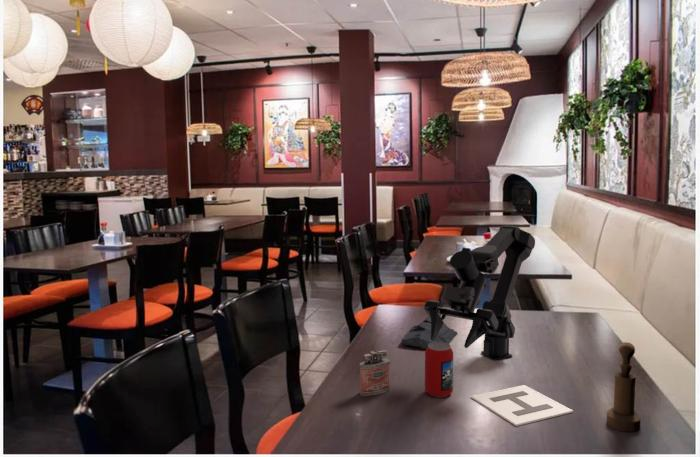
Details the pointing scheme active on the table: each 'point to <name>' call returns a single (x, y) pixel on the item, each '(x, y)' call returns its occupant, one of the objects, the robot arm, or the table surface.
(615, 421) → the brown knobbed pedestal
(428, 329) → the dark slate chunk
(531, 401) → the letter mat
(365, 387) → the lighter
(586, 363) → the table surface
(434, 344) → the beverage can
